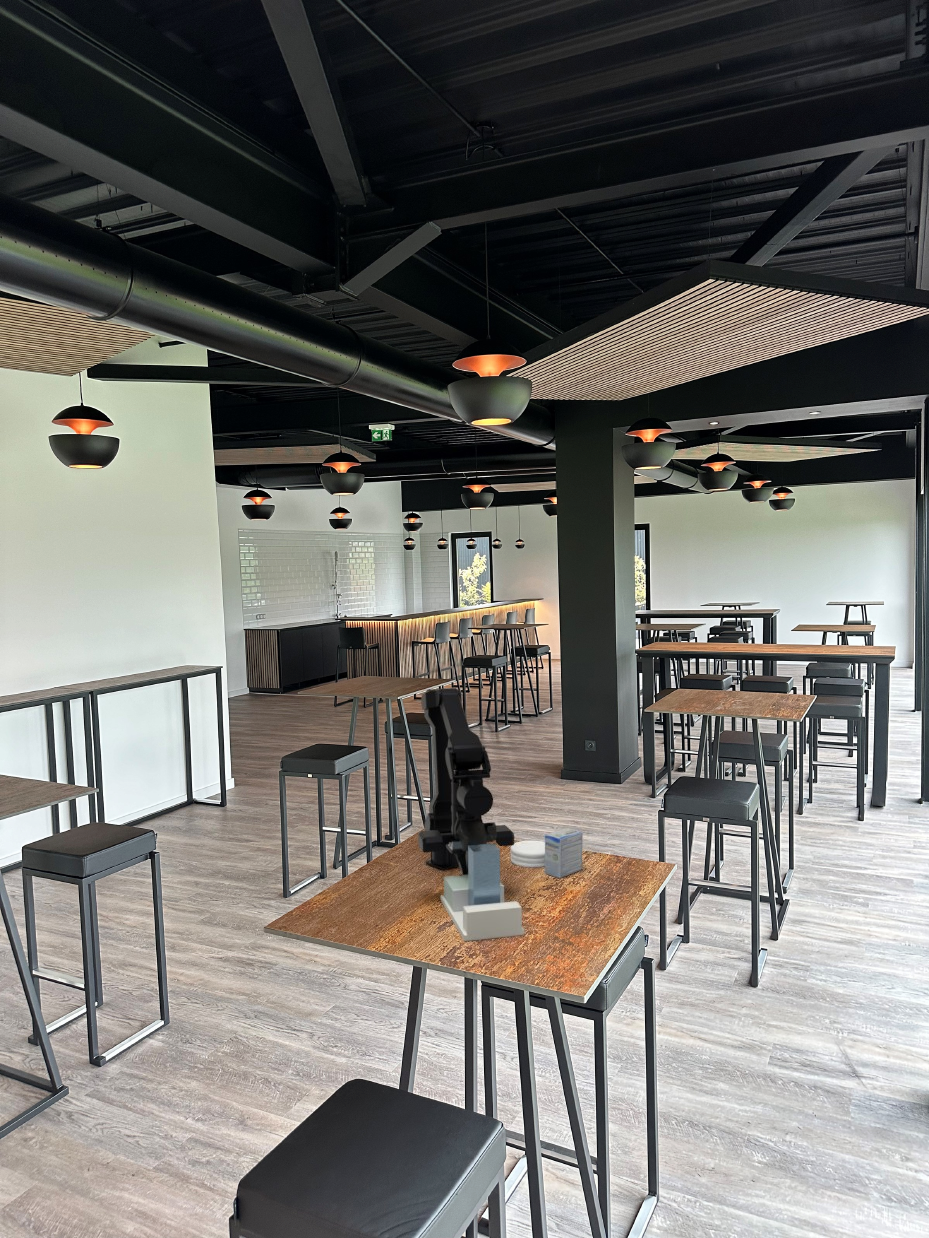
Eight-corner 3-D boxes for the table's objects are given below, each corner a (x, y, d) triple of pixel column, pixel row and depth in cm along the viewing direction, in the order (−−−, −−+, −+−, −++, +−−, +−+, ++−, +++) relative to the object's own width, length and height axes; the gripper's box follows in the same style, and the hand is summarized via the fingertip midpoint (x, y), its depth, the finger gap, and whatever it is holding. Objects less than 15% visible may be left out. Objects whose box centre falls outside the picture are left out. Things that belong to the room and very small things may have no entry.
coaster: (506, 866, 184) (506, 851, 183) (515, 853, 193) (515, 838, 193) (550, 870, 181) (550, 854, 181) (557, 856, 190) (557, 841, 190)
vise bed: (440, 899, 163) (440, 875, 163) (493, 894, 166) (493, 870, 165) (464, 941, 143) (464, 912, 143) (524, 934, 146) (524, 906, 146)
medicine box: (567, 865, 183) (566, 827, 183) (583, 870, 180) (583, 831, 180) (544, 874, 178) (544, 834, 178) (560, 879, 175) (560, 838, 174)
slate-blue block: (468, 914, 153) (468, 845, 153) (494, 911, 154) (494, 843, 154) (473, 922, 149) (473, 851, 149) (500, 920, 150) (500, 849, 150)
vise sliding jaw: (444, 896, 162) (443, 876, 162) (492, 891, 164) (492, 872, 164) (453, 911, 154) (453, 890, 154) (504, 906, 157) (504, 885, 156)
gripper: (428, 816, 154) (428, 899, 155) (522, 810, 159) (523, 890, 159) (417, 802, 165) (417, 879, 166) (506, 796, 170) (506, 871, 170)
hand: (466, 880), depth 165 cm, fingers closed
